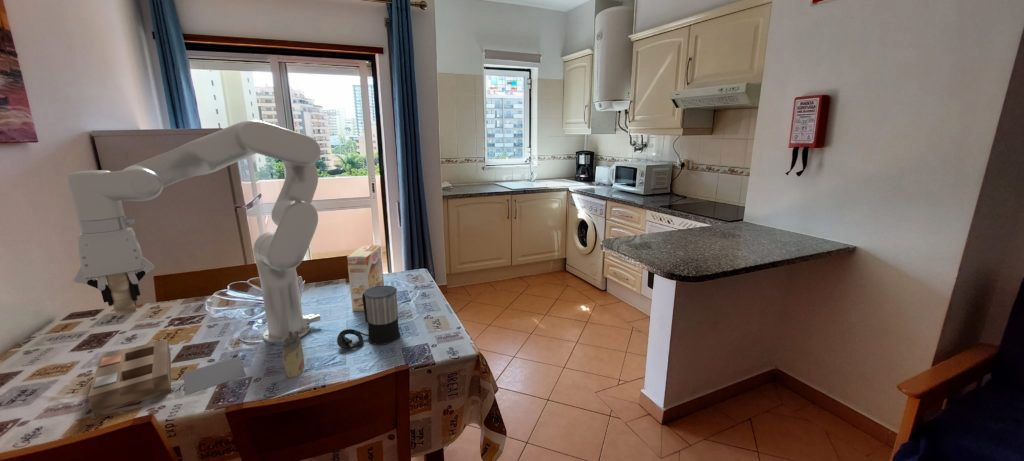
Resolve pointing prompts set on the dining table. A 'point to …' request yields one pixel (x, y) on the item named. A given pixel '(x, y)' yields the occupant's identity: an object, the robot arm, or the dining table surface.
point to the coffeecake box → (364, 272)
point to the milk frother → (376, 318)
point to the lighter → (293, 355)
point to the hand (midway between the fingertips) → (123, 300)
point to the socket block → (131, 376)
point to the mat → (213, 375)
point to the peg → (121, 293)
